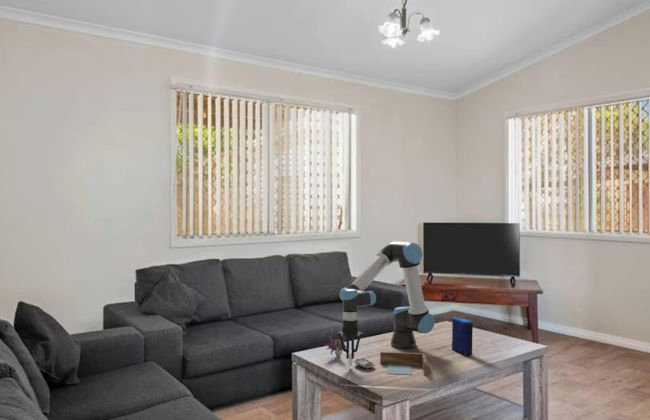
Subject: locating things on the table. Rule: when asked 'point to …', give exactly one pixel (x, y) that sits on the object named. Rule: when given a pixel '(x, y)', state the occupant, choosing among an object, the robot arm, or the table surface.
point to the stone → (364, 363)
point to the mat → (399, 369)
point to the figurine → (335, 345)
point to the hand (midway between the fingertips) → (350, 364)
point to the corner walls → (404, 359)
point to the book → (462, 336)
